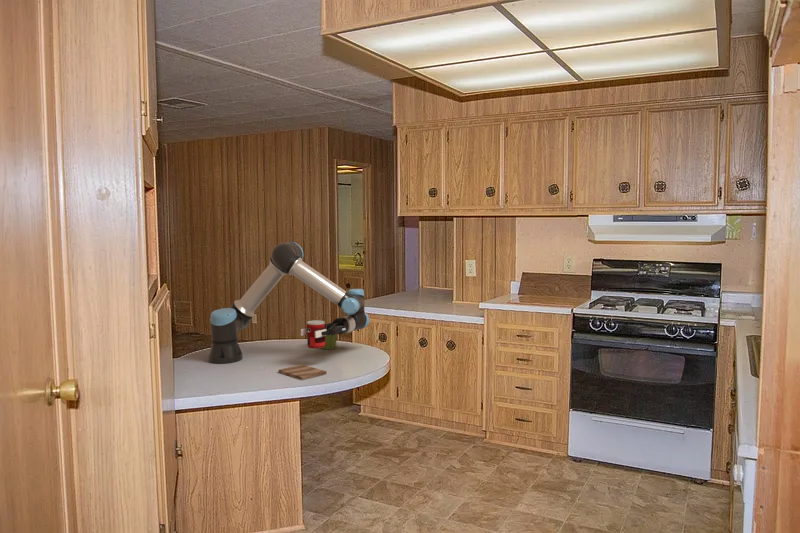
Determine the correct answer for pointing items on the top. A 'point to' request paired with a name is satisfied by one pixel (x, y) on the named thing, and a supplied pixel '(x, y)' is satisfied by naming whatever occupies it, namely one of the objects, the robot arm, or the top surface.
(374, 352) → the top surface
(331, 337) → the plant pot
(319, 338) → the canned food
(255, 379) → the top surface
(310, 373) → the walnut board
